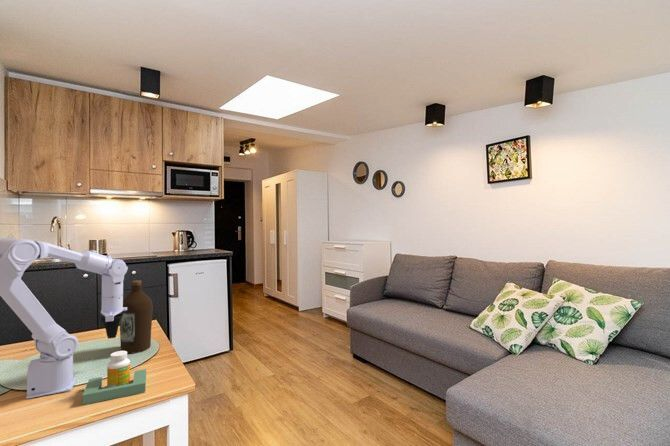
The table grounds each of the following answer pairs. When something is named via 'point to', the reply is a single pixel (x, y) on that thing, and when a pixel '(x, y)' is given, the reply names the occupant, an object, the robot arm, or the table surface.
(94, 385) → the green u-shaped block
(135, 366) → the table surface
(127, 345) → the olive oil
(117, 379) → the supplement bottle
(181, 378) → the table surface
